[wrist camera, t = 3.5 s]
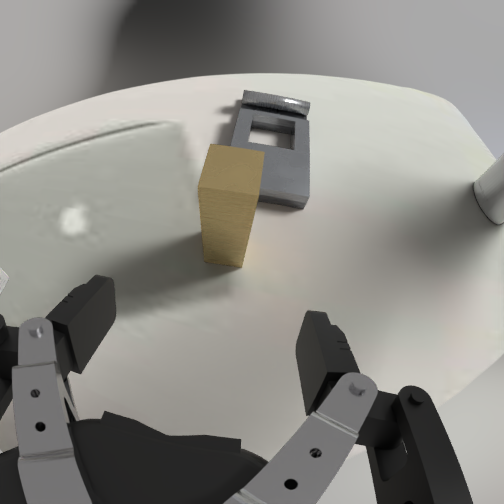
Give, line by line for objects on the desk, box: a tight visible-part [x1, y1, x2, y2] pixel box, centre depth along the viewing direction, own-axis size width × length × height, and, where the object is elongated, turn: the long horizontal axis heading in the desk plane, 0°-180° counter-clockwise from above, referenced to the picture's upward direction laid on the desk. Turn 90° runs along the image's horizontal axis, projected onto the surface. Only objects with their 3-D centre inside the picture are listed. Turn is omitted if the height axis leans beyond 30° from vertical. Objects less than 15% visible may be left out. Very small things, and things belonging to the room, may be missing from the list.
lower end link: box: [241, 90, 310, 150], centre depth 34 cm, size 9×13×3 cm
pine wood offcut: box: [198, 144, 265, 268], centre depth 23 cm, size 4×4×12 cm
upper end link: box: [231, 108, 310, 209], centre depth 32 cm, size 9×12×2 cm
